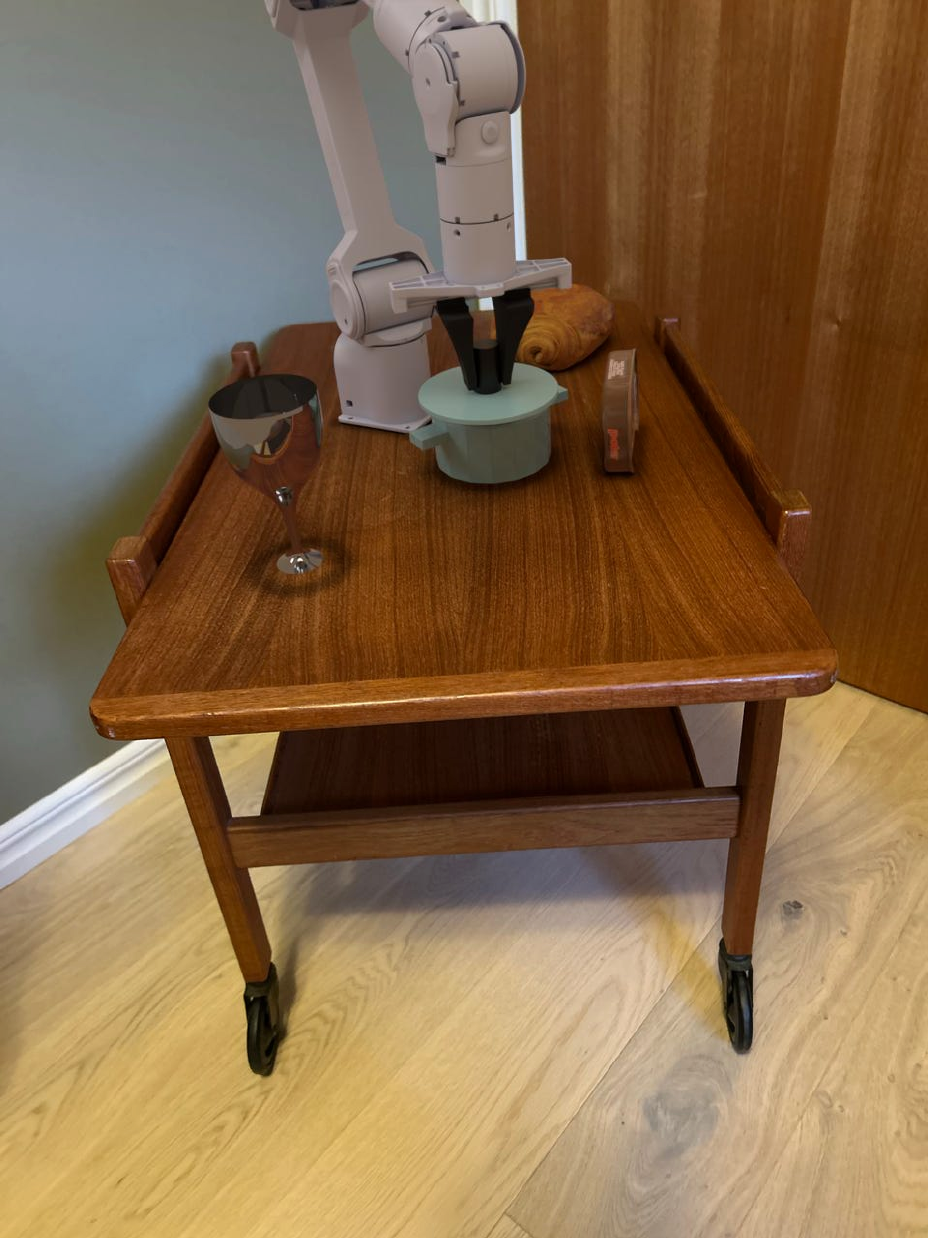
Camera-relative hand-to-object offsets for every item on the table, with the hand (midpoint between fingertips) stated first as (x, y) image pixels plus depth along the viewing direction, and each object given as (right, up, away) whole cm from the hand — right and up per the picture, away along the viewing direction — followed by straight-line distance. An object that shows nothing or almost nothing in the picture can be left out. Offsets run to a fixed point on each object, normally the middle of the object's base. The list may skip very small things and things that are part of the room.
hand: (487, 383), depth 78 cm
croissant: (+8, +12, +31) cm, 35 cm away
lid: (0, -1, +1) cm, 1 cm away
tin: (+13, -4, +10) cm, 17 cm away
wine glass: (-15, -16, -2) cm, 22 cm away
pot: (+1, -5, +10) cm, 11 cm away
